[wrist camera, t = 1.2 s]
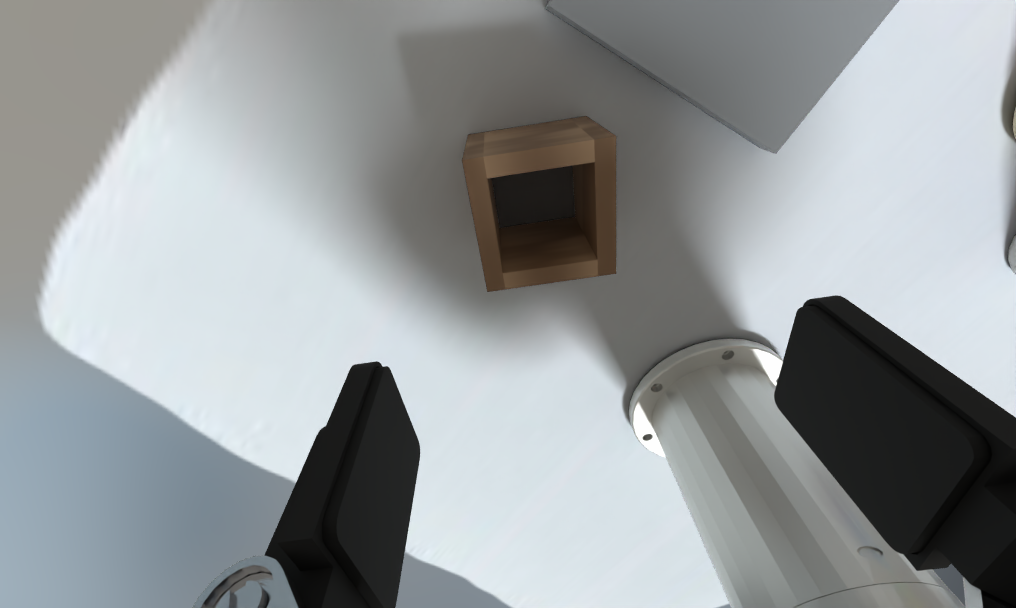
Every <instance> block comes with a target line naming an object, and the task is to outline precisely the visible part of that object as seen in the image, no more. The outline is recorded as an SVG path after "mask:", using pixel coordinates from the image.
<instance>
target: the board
mask: <svg viewBox="0 0 1016 608" xmlns="http://www.w3.org/2000/svg"><path fill="white" fill-rule="evenodd" d="M898 1H899V0H549V1H548V3H547V5H546V7H545V9H547V10H548V11H550V12H551V13H553V14H554V15H556V16H557V17H559V18H561V19H562V20H564V21H565V22H567V23H568V24H570V25H571V26H573V27H574V28H576V29H577V30H579V31H581V32H582V33H584V34H585V35H587V36H588V37H590V38H591V39H593V40H594V41H596V42H598V43H599V44H601V45H602V46H604V47H605V48H607V49H608V50H610V51H611V52H613V53H614V54H616V55H618V56H619V57H621V58H622V59H624V60H625V61H627V62H628V63H630V64H631V65H633V66H635V67H636V68H638V69H639V70H641V71H642V72H644V73H645V74H647V75H648V76H650V77H652V78H653V79H655V80H656V81H658V82H659V83H661V84H662V85H664V86H665V87H667V88H668V89H670V90H672V91H673V92H675V93H676V94H678V95H679V96H681V97H682V98H684V99H685V100H687V101H689V102H690V103H692V104H693V105H695V106H696V107H698V108H699V109H701V110H702V111H704V112H705V113H707V114H709V115H710V116H712V117H713V118H715V119H716V120H718V121H719V122H721V123H722V124H724V125H726V126H727V127H729V128H730V129H732V130H733V131H735V132H736V133H738V134H739V135H741V136H743V137H744V138H746V139H747V140H749V141H750V142H752V143H753V144H755V145H756V146H758V147H759V148H762V149H764V150H767V151H770V152H773V153H777V152H778V151H779V149H780V148H781V147H782V146H783V144H784V143H785V142H786V141H787V139H788V138H789V137H790V136H791V134H792V133H793V132H794V131H795V129H796V128H797V127H798V126H799V124H800V123H801V122H802V121H803V120H804V118H805V117H806V116H807V115H808V113H809V112H810V111H811V110H812V108H813V107H814V106H815V105H816V103H817V102H818V101H819V100H820V98H821V97H822V96H823V95H824V93H825V92H826V91H827V90H828V88H829V87H830V86H831V85H832V83H833V82H834V81H835V80H836V78H837V77H838V76H839V75H840V73H841V72H842V71H843V70H844V68H845V67H846V66H847V65H848V64H849V62H850V61H851V60H852V59H853V57H854V56H855V55H856V54H857V52H858V51H859V50H860V49H861V47H862V46H863V45H864V44H865V42H866V41H867V40H868V39H869V37H870V36H871V35H872V34H873V32H874V31H875V30H876V29H877V27H878V26H879V25H880V24H881V22H882V21H883V20H884V19H885V17H886V16H887V15H888V14H889V12H890V11H891V10H892V9H893V8H894V6H895V5H896V4H897V3H898Z"/></svg>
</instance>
